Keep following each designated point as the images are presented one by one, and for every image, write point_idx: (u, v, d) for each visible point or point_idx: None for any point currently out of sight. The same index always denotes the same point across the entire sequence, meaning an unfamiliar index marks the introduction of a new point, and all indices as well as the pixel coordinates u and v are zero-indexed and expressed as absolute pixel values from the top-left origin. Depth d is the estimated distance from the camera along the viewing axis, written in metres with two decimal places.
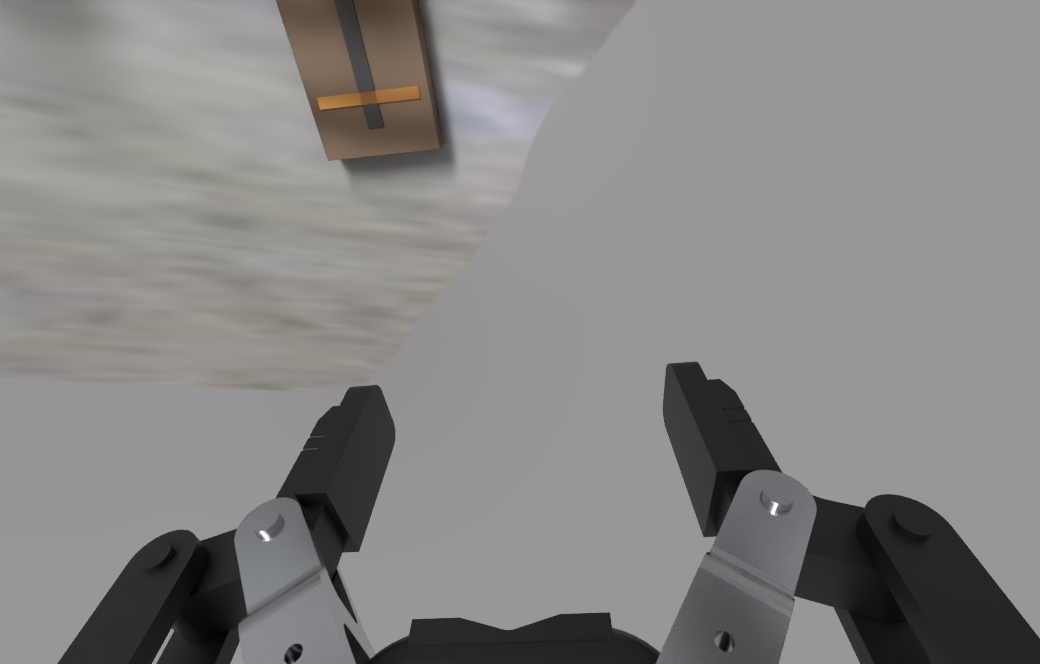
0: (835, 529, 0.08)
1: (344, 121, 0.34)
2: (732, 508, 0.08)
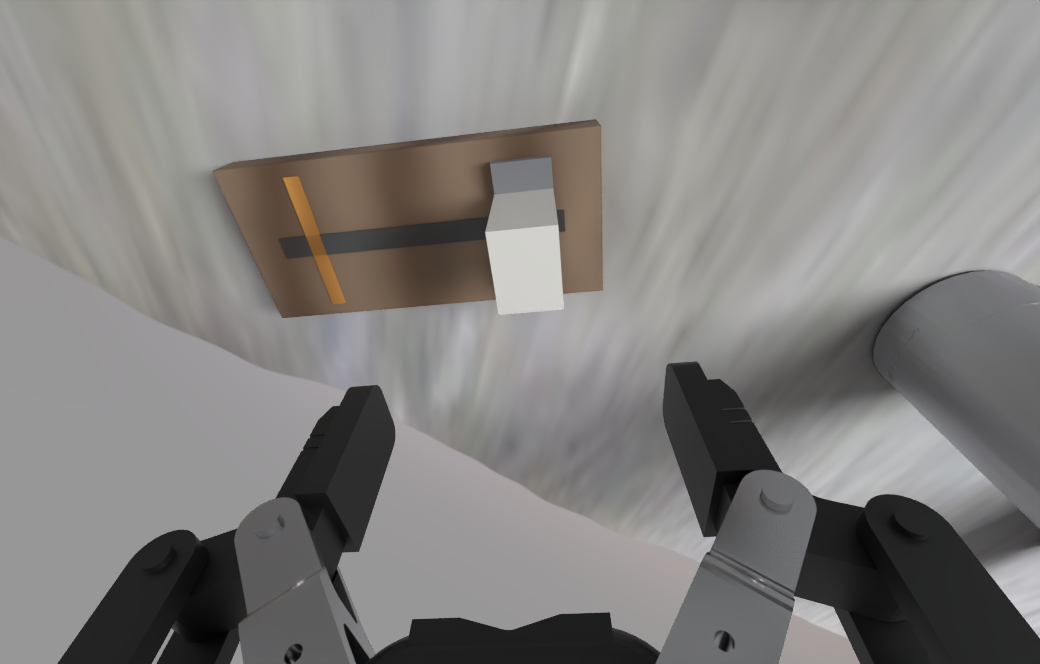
0: (835, 529, 0.08)
1: (277, 207, 0.24)
2: (732, 508, 0.08)
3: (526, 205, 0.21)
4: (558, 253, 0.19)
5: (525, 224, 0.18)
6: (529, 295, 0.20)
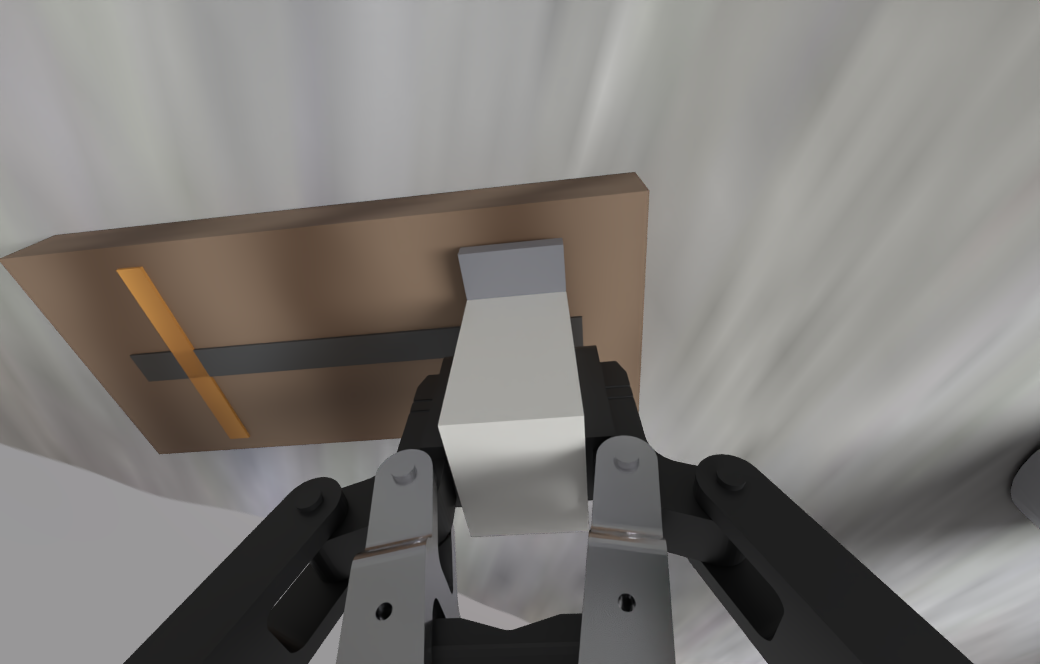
0: (676, 485, 0.09)
1: (119, 312, 0.15)
2: (597, 481, 0.09)
3: (520, 339, 0.11)
4: (582, 458, 0.10)
5: (518, 407, 0.09)
6: (526, 513, 0.11)
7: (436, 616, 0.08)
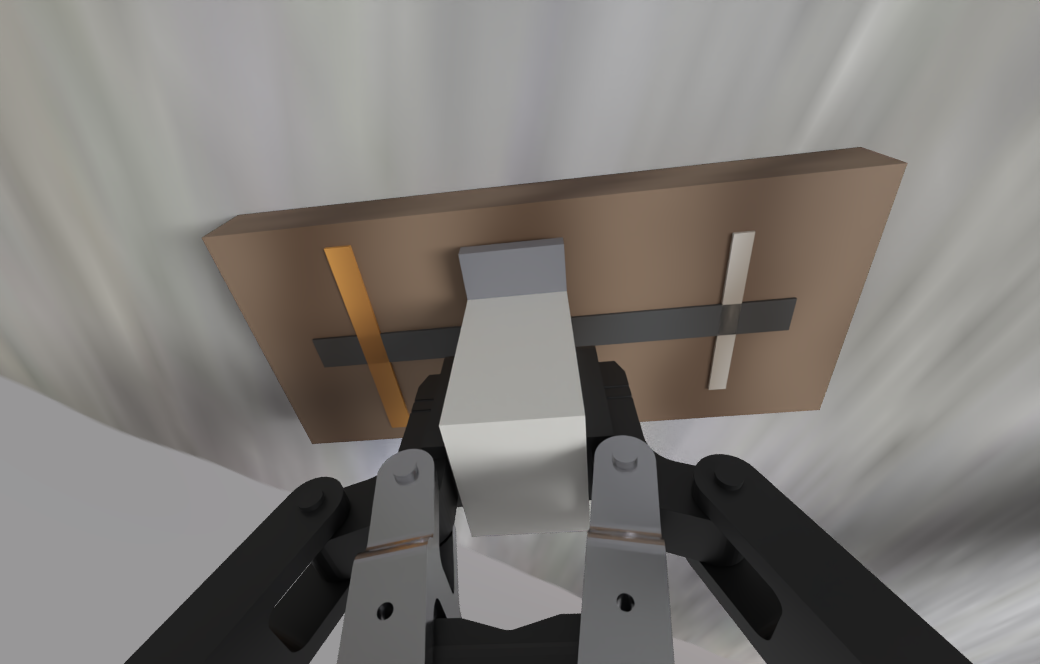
0: (674, 485, 0.09)
1: (312, 294, 0.14)
2: (595, 481, 0.09)
3: (521, 339, 0.11)
4: (583, 457, 0.10)
5: (520, 407, 0.09)
6: (527, 513, 0.11)
7: (437, 616, 0.08)
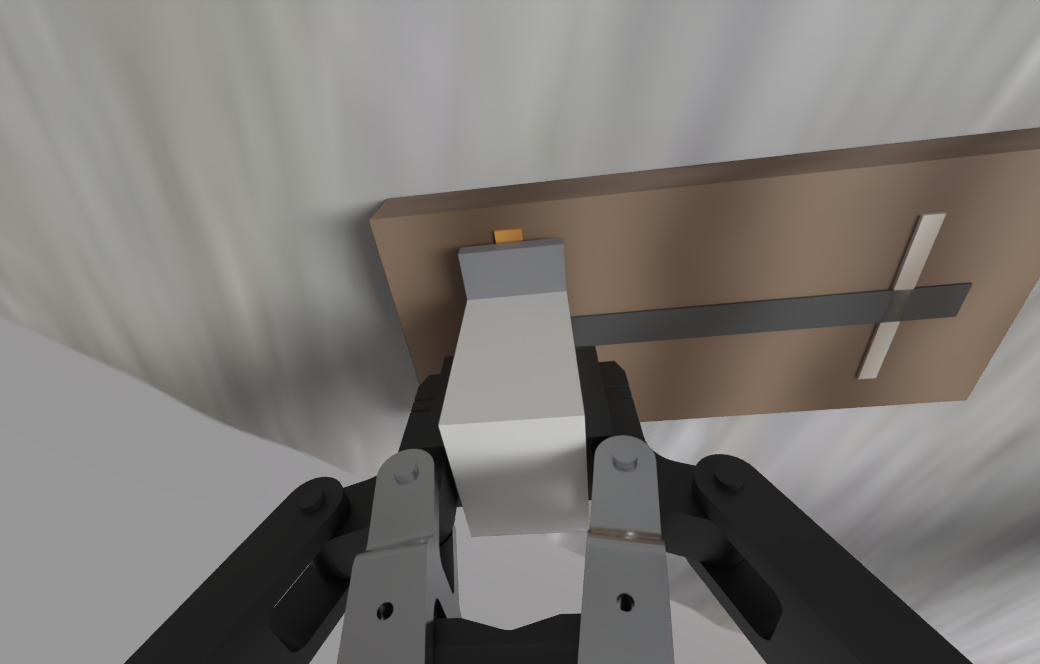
0: (675, 485, 0.09)
1: None
2: (595, 481, 0.09)
3: (521, 339, 0.11)
4: (583, 457, 0.10)
5: (519, 407, 0.09)
6: (527, 513, 0.11)
7: (437, 616, 0.08)
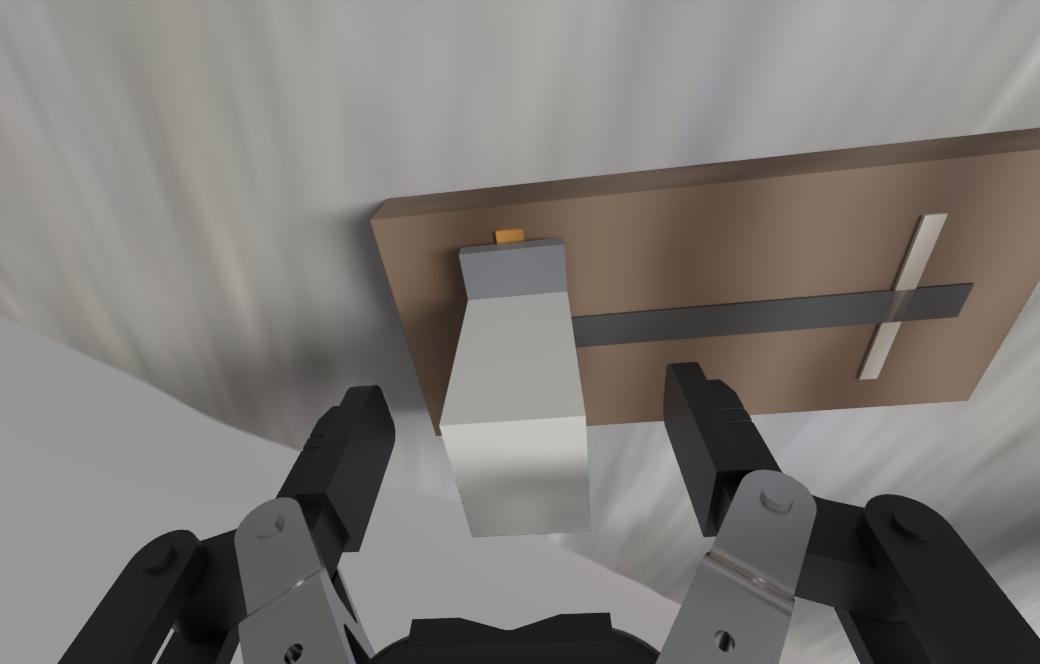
0: (835, 529, 0.08)
1: None
2: (732, 508, 0.08)
3: (521, 339, 0.11)
4: (584, 458, 0.10)
5: (520, 407, 0.09)
6: (527, 513, 0.11)
7: (348, 645, 0.08)
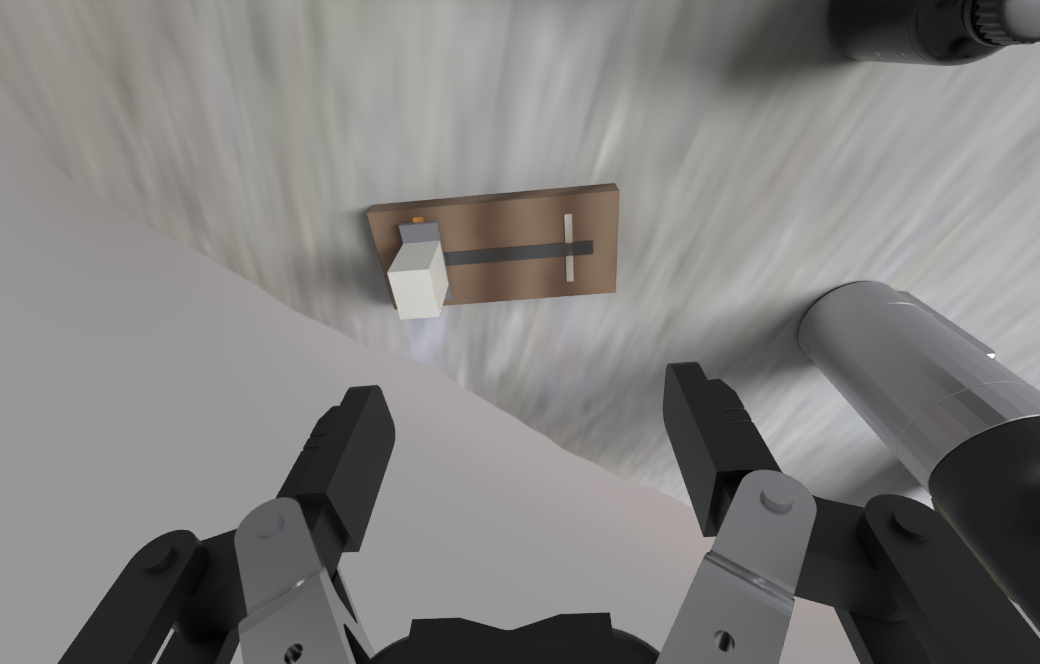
0: (835, 529, 0.08)
1: None
2: (732, 508, 0.08)
3: (418, 253, 0.34)
4: (431, 284, 0.32)
5: (411, 268, 0.32)
6: (417, 308, 0.33)
7: (348, 645, 0.08)
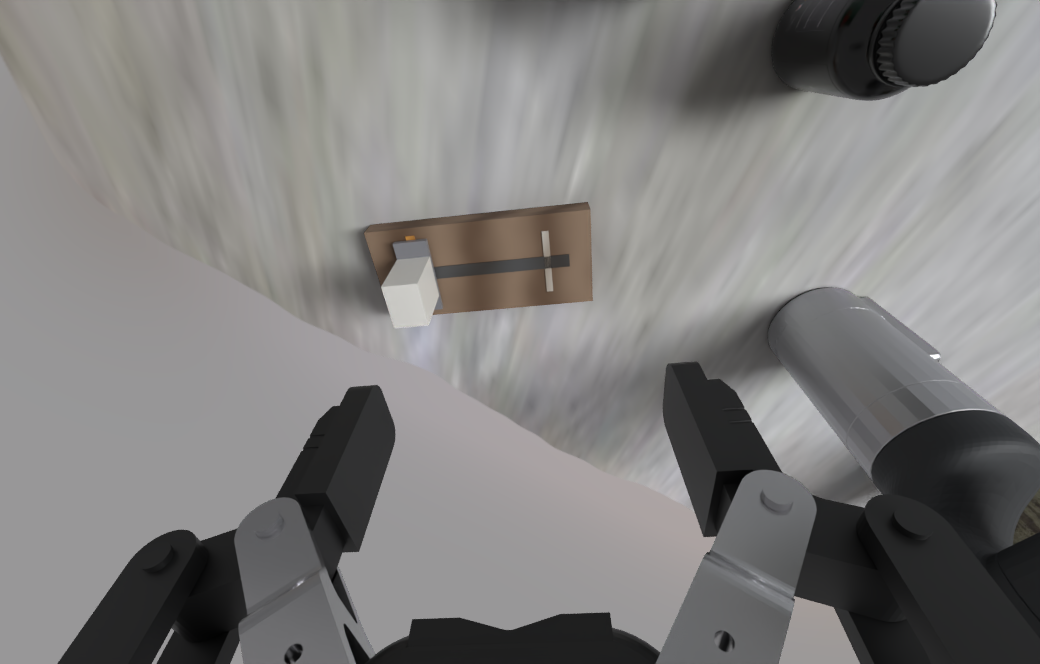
0: (835, 529, 0.08)
1: None
2: (732, 508, 0.08)
3: (409, 269, 0.38)
4: (420, 297, 0.36)
5: (402, 282, 0.36)
6: (409, 318, 0.37)
7: (348, 645, 0.08)
